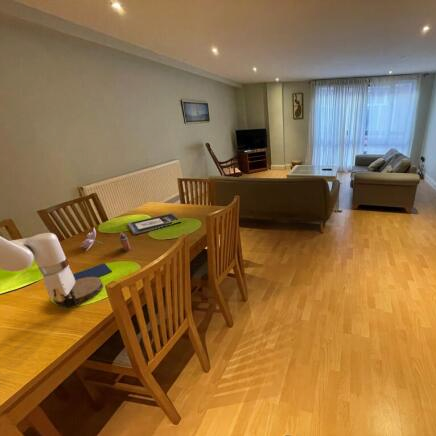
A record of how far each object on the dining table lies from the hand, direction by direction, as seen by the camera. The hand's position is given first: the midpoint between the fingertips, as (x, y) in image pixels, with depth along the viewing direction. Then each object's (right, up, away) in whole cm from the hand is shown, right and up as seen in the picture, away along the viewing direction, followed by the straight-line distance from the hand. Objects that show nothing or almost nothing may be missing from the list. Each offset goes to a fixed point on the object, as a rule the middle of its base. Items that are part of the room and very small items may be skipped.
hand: (72, 305), depth 94 cm
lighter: (-9, +16, +44) cm, 48 cm away
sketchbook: (-12, +30, +77) cm, 84 cm away
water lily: (-32, +18, +47) cm, 60 cm away
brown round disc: (-4, +2, +9) cm, 10 cm away
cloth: (-11, +7, +22) cm, 25 cm away
